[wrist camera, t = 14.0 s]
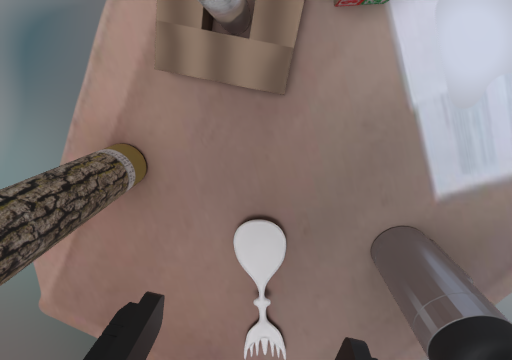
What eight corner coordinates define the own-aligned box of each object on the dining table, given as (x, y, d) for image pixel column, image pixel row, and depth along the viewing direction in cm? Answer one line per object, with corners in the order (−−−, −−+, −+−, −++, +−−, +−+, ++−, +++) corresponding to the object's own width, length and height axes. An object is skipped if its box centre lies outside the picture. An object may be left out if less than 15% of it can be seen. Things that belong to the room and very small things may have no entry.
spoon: (244, 345, 55) (242, 362, 52) (232, 213, 43) (229, 224, 40) (286, 346, 54) (287, 363, 51) (285, 213, 43) (286, 223, 39)
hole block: (312, -49, 30) (319, -73, 25) (282, 93, 36) (283, 94, 31) (178, -76, 30) (160, -106, 25) (169, 70, 35) (154, 69, 31)
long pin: (253, 1, 32) (239, -54, 19) (247, 37, 33) (232, 9, 20) (221, -5, 32) (187, -65, 19) (217, 31, 33) (183, -1, 20)
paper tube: (113, 134, 39) (-118, 211, 16) (154, 155, 40) (-10, 257, 17) (101, 170, 42) (-116, 283, 18) (140, 189, 42) (-20, 321, 19)
